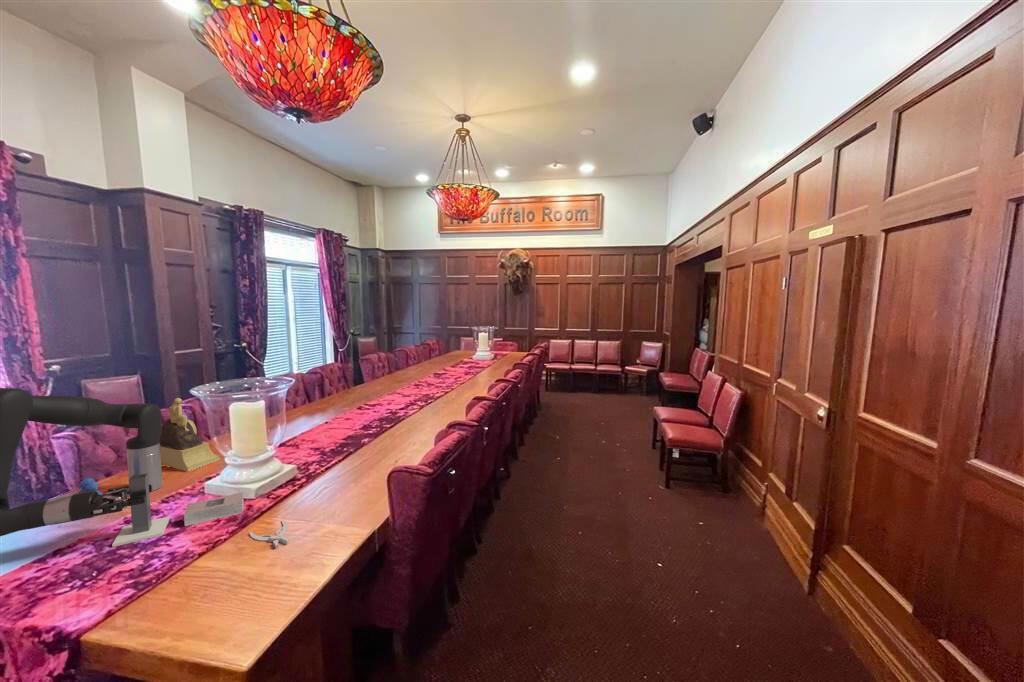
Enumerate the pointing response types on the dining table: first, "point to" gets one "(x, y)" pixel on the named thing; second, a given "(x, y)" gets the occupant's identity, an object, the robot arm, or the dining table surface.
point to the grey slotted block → (213, 509)
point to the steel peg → (140, 511)
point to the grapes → (89, 486)
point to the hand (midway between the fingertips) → (148, 493)
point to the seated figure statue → (183, 442)
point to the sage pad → (129, 537)
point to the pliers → (276, 538)
